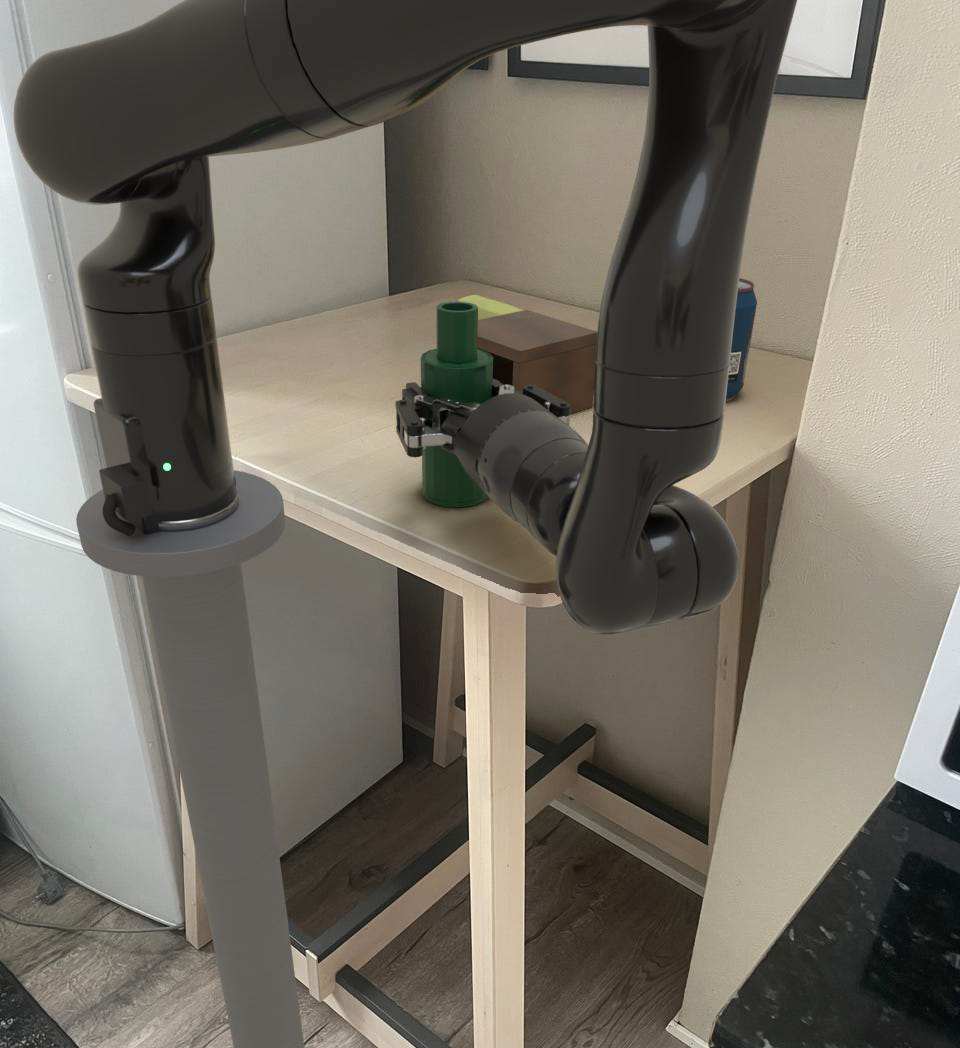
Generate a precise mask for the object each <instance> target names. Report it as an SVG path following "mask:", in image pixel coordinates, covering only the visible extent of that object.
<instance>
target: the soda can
mask: <svg viewBox="0 0 960 1048" xmlns="http://www.w3.org/2000/svg"><path fill="white" fill-rule="evenodd" d="M754 288H755V283H753V282H752V281H751V280H749V279H746V278H745V279H744V278H742V277H741V278H740V277H739V284H738V292H737V301H736V309H735V318H734V327H733V337H732V347H731V357H730V363H729V364H730V366H729V375H728V384H727V394H726V402H729V401H733V400H734V399H735V398H736V397H737V396H738V394H739V393H740V392H741V390H742V389H743V387H744V384H745V379H746V372H747V365H748V360H749V354H750V348H751V341H752V336H753V329H754V324H755V317H756V311H757V306H758V299H757V297H756V293H755V290H754Z"/></svg>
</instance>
